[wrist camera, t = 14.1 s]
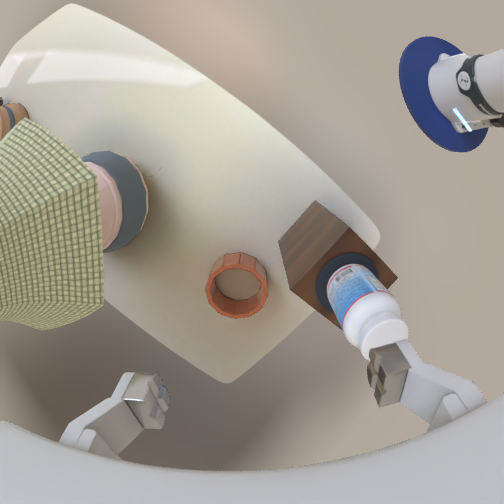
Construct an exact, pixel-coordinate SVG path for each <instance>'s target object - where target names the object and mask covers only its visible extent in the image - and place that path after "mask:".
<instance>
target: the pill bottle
mask: <svg viewBox="0 0 504 504" xmlns="http://www.w3.org/2000/svg"><path fill="white" fill-rule="evenodd" d="M327 297H328V300H329V302H330V304H331V307H332V309H333V311H334V313H335V315H336V317H337V319H338V321H339V323H340V326H341V328H342V330H343V332H344V334H345V336H346V338H347V340H348V341H349V342H350V343H351V344H352V345H354V346H355V347H358V348H359V349H360V351H361V352H362V354H363V356H364V357H365V358H366V359H367V360H370V359H369V351H370V349H371V348H375V347H379V346H383V345H386V344H390V343H394V342H397V341H400V340H404V339H406V340H407V338H408V333H409V332H408V327H407V325H406V323H405V322H404V320H403V319H402V318H401V316H402V315H401V308H400V305H399V304H398V302H397V300H396V299H395V298H394V297H393V296H392V294H391V293H390V292H389V291H388V290H387V289H386V288H385V287H384V286H383V284H382V283H381V282H380V281H379V280H378V279H377V278H376V277H375V276H374V275H373V274H372V272H371V271H370V270H368V269H367V268H366V267H364V266H362V265H359V264H349V265H345V266H343V267H341V268H339V269H338V270H337V271H335V272H334V274H333V275H332V276H331V278H330V279H329V282H328V285H327Z"/></svg>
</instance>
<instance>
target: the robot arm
mask: <svg viewBox="0 0 504 504" xmlns="http://www.w3.org/2000/svg"><path fill="white" fill-rule="evenodd" d="M428 85H429V90H430V94H431V96H432V99H433V101H434V103H435V105H436V106H437V108H438V109H439V111H440V112H441V113H442V114H443V115H444V116H445V117H446V118H447V119H448V120H449V121H450V122H451V124H452V125H453V127H454V129H455V130H456V131H457V132H458V133H462V132H467V131H472V130H477V129H482V128H487V127H492V126H495V127H504V48H503V49H501V50H498V51H495V52H493V53H490V54H487V55H474V56H471V57H469V56H467V55H465V54H458V55H454V56H450V55H448V54H445V53H443V54H440V56H439V59H438V62H437V63H435V64H434V65H433V66H432V67H431V69H430V71H429V75H428ZM462 126H463V127H462ZM369 359H370V363H369V364H368V366H367V375H368V381H369V384H370V387H372V388H373V389H375V393H374V396H375V398H376V401H377V403H378V405H379V407H382V406H386V405H390V404H394V403H397V402H399V403H400V404H402V405H403V406H405V407H406V408H408V409H409V410H410V411H412V412H413V413H415V414H416V415H418V416H419V417H421V418H422V419H423V420H425V421H426V422H428V423H430V426H429V428H428V430H427V432H426V433H424V434H422V435H419V436H416V437H414V438H411V439H408V440H406V441H403V442H400V443H397V444H394V445H391V446H388V447H385V448H382V449H378V450H375V451H371V452H367V453H364V454H360V455H356V456H352V457H348V458H343V459H339V460H334V461H329V462H323V463H318V464H311V465H305V466H298V467H290V468H281V469H269V470H253V471H201V470H185V469H174V468H165V467H157V466H150V465H143V464H137V463H132V462H127V461H123V460H122V459H121V458H120V457H119V456H118V454H119V453H120V452H121V451H122V450H123V449H124V448H125V447H126V446H127V445H128V444H129V443H130V442H131V441H132V440H133V439H134V438H135V437H136V436H137V435H138V434H139V433H140V432H141V431H142V430H143V429H144V428H150V429H162V428H163V425H164V421H165V418H166V417H165V415H164V412H165V411H167V410H168V409H169V405H170V395H169V392H168V390H167V388H166V387H165V386H163V385H162V381H163V380H162V378H161V376H160V374H157V373H131V372H126V373H124V374H123V376H122V378H121V379H120V382H119V383H118V385H117V387H116V389H115V391H114V393H113V395H112V396H111V398H107V399H105V400H104V401H102V402H101V403H100V404H98V405H97V406H95V407H93V408H92V409H90V410H89V411H87V412H86V413H84V414H83V415H81V416H79V417H78V418H77V419H75V420H73V421H72V422H70V423H69V425H68V426H67V428H66V430H65V432H64V434H63V435H62V437H61V439H60V441H59V442H55V441H52V440H49V439H47V438H44V437H42V436H39V435H37V434H34V433H32V432H29V431H27V430H25V429H23V428H21V427H19V426H16V425H14V424H12V423H11V422H8V421H2V422H0V504H504V392H503V393H502V394H500V395H499V396H497V397H496V398H494V399H492V400H491V401H489V402H487V400H486V399H485V397H484V396H483V395H482V393H481V392H480V390H479V389H478V388H477V386H476V385H475V383H474V382H472V381H470V380H467V379H465V378H462V377H460V376H457V375H455V374H452V373H450V372H448V371H445V370H443V369H441V368H438V367H436V366H433V365H430V364H429V363H425V364H424V363H423V362H422V360H421V359H420V357H419V356H418V354H417V353H416V351H415V350H414V349H413V347H412V346H411V344H410V343H409V342H408V340H406V339H404V340H400V341H397V342H394V343H390V344H386V345H383V346H379V347H375V348H371V349H370V351H369Z"/></svg>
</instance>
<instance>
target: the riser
mask: <svg viewBox="0 0 504 504" xmlns="http://www.w3.org/2000/svg"><path fill="white" fill-rule="evenodd" d="M278 242H279V246H280V250H281V254H282V258H283V263H284V267H285V271H286V275H287V279H288V283H289V287H290V290H291V291H292V292H293V293H295V294H296V295H297V296H299V297H300V298H301V299H302V300H304V301H305V302H306V303H308V304H309V305H310V306H311V307H313V308H314V309H315V310H317V311H318V312H319V313H321V314H322V315H323V316H324V317H326V318H327V319H328V320H330V321H331V322H332V323H333V324H335V325H336V326H338V327H339V328H340V329H341V330H342V328H341V326H340V323H339V321H338V319H337V317H336V315H335V314H334V313H331V312H329V311H328V310H326V309H325V308H324V307H323V306H322V305H321V304H320V302H319V300H318V297H317V294H316V281H317V278H318V275H319V273H320V271H321V270H322V268H323V267H324V266H325V265H326V264H327V263H328V262H329V261H330V260H331V259H333V258H335V257H336V256H339V255H342V254H345V253H358V254H361V255H364V256H366V257H367V258H369V259H370V260H371V261H372V262H373V263H374V265H375V266H376V268H377V271H378V274H379V281H380V282H381V283H382V284H383V286H384V287H385V288H386V289H388V288H389V287H390V286H391V285H392V284H393V283H394V282H395V280H396V279H397V278H398V277H397V276H396V275H395V274H394V273H393V272H392V271H391V269H390V268H389V267H388V266H387V265H386V264H385V263H384V262H383V261H382V260H381V259H380V258H379V257H378V256H377V255H376V253H374V251H373V250H372V249H371V248H370V247H369V246H368V245H367V244H366V243H365V242H364V241H363V240H362V239H361V238H360V237H359V236H358V235H357V234H356V233H355V232H354V231H353V230H352V229H351V228H350V227H349V226H347V225H346V224H345V223H344V222H342V221H341V220H340V219H339V218H337V217H336V216H335V215H334V214H332V213H331V212H330V211H328V210H327V209H326V208H325V207H323V206H322V205H321V204H319V203H318V202H317V201H314V202H313V203H312V204H311V205H310V206H309V208H308V209H307V210H306V211H305V212H304V213H303V214H302V215H301V217H300V218H299V219H298V220H297V221H296V222H295V223H294V224H293V226H292V227H291V228H290V229H289V230H288V231H287V232H286V233H285V234H284V236H283V237H282V238H281V239H280V240H279V241H278Z"/></svg>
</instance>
